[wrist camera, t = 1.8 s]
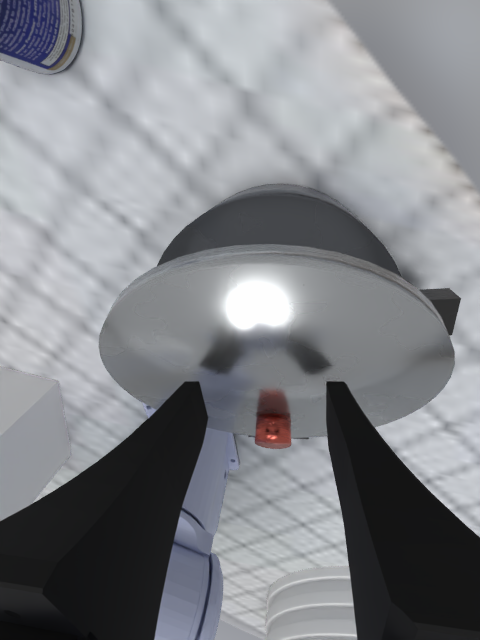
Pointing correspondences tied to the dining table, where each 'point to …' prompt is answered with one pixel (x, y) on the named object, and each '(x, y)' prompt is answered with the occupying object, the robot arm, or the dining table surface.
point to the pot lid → (277, 338)
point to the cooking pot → (294, 232)
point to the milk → (29, 437)
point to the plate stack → (311, 606)
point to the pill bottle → (40, 33)
